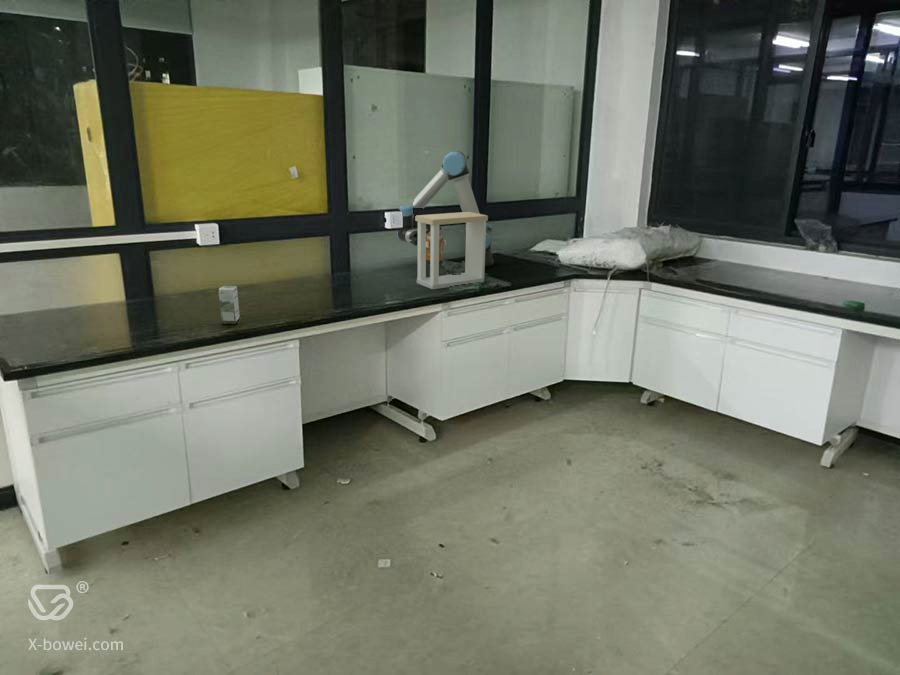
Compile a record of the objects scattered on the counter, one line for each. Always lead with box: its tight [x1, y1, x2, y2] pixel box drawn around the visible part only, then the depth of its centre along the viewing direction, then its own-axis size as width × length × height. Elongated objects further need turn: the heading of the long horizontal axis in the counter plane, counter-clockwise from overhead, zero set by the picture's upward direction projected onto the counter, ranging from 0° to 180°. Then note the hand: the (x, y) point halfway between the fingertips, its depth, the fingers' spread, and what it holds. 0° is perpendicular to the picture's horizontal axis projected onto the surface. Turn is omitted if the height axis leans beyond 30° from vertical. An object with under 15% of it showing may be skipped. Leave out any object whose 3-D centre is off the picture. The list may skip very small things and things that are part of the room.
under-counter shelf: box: [414, 211, 489, 290], centre depth 315 cm, size 32×16×34 cm, turn 123°
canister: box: [426, 224, 444, 266], centre depth 329 cm, size 9×11×20 cm
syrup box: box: [218, 285, 241, 322], centre depth 248 cm, size 6×6×14 cm
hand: (437, 244), depth 325 cm, fingers closed on canister, 10 cm apart
